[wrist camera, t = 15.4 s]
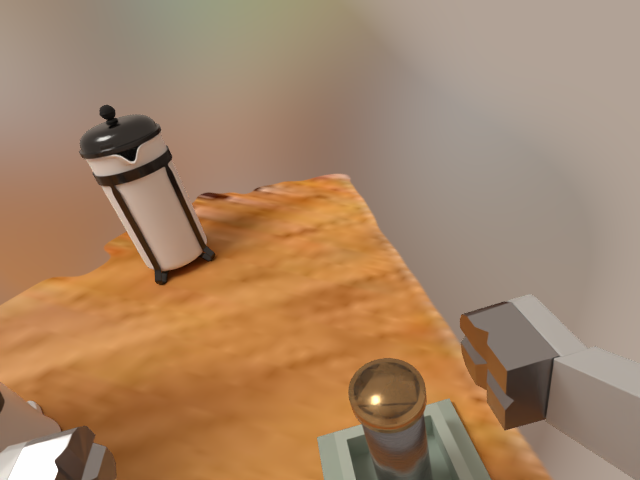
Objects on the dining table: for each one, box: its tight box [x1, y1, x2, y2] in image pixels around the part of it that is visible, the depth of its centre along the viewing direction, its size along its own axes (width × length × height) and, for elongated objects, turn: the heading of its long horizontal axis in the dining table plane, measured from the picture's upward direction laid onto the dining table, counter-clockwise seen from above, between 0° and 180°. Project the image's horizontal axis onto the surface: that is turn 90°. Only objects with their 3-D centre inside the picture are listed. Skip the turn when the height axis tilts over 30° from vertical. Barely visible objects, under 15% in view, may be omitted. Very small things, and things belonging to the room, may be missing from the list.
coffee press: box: [79, 105, 215, 284], centre depth 71 cm, size 17×16×30 cm
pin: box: [349, 358, 433, 480], centre depth 31 cm, size 5×5×14 cm
